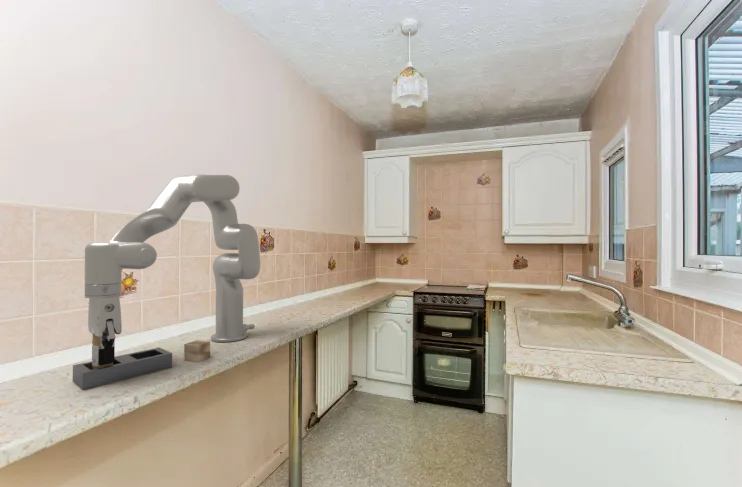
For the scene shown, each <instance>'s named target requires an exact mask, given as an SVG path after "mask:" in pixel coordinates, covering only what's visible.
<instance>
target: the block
mask: <svg viewBox="0 0 742 487" xmlns="http://www.w3.org/2000/svg"><path fill="white" fill-rule="evenodd" d="M183 345H184V346H183V348H184V349H183V350H184V352H183V353H184V354H183V355H184V356H183V357H184V358H183V360H184V362H192V363H199V362H202V361H206V360H207V359H209V358H211V341H210V340H200V339H197V340H194V341H190V342H188V343H185V344H183Z"/></svg>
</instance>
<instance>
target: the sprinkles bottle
mask: <svg viewBox="0 0 742 487" xmlns="http://www.w3.org/2000/svg"><path fill="white" fill-rule="evenodd" d="M113 328H114V327H113ZM92 333H93V334H92ZM92 333H91V334H92V338H93V344H92V346H91V361H92V366H93V369H98V368H102V367H107V366H111V365H113V363H109V364H105V365H99V364H98V358H99V349H100V338H99V337H98V336H95V334H94V330H93V327H92ZM103 336H107V333H105V334H103ZM105 339H107V338H104V341H105Z"/></svg>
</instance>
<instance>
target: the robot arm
mask: <svg viewBox="0 0 742 487" xmlns="http://www.w3.org/2000/svg"><path fill="white" fill-rule="evenodd" d="M239 193H240V183H239V181H238V180H237V179H236V178H235V177H234V176H232V175H231V174H230V175H229V174H190V175H189V174H188V175H178V176H175V177H174V178H172V179H171V180H170V181H169V182H168V183H167V184H166V186H165V187H164V188H163V190H162V191H161V192H160V193H159V194H158V196H157V197H156V198H155V199H154V201H153V202H152V203H151V205H150V206H149V207H147V209H145V210H144V211H142V212H141V213H139V214H138V215H137V216H135V217H134V218H133V219H131V220H130V221H128V222H127V223H126V224H124V225H123V226H122V227H121V228H120V229H119V230H118V231H117V232H116V233H115V235H114V236H113V237H111V239H110V240H109V242H91V243H88V244H86V246H85V247H84V299H88V311H87V313H88V316H87V317H88V318H87V319H88V320H87V323H88V324H87V325H88V331H89V333H90V334H92V335H93V333H92V327H93V330H94V334H95V336H98V337H99V338H100V349H99V358H98V364H99V365H105V364H109V363H113V362H114V361H115V356H116V354H115V351H116V350H115V346H116V344H115V342H116V335H121V334H122V332H123V330H122V327H123V326H122V312H121V310H122V309H121V302H120V301H121V300H120V296H122V271H123V269H125V270H144V269H147V268H150V267H151V266H153V264H154V263H155V262H156V260H157V258H158V257H157V255H158V254H157V250H156V249H155V247H154V246H152V245H151V244H150V243H146V242H145V241H147V240H148V239H150V238H152V237H153V236H155V235H158V234H161V233H163V232H165V231H167V230H169V229H171V228H173V227H175V226H176V225H177V224H178V222H179V221H180V219H181V218H182V217H183V215H184V214H185V212H186V211H187V209H188V208H189V207H190V205H191V204H192V203H200V202H201V203H202V202H203V203H204V204H205V205H206V206H207V207H208V209H209V211H210V213H211V219H212V229H213V238H214V243H215V245H216V247H217V248H219V249H220V250H223V251H224V250H226V251H227V250H231V251H238V253H237V252H226V253H221V254H218V256H217V257H216V258H214V260H213V263H212V264H213V265H212V269H213V270H212V271H213V277H214V279H215V280H214V282H215V333H214V334H212V335H211V336H210V340H211V341H213V342H215V343H229V342H237V341H241V340H245V339H247V337H248V332H247V331H248V330H254V329H255V327H256V326H255V324H254V323H250V324H247V323H246V324H245V323H244V287H243V284H242V282H241V280H253V279H255V278H257V277H258V275H259V274H260V270H261V255H260V244H259V243H260V242H259V236H258V233H257V230H256V228H255V227H253V226H252V225H251V224H249V223H239V220H238V214H237V209H236V207H235V205H234V203H233V201H232V200H234V199H236V198H237V197H238V195H239ZM113 327H114V328H113ZM105 333H107V336H103V334H105ZM104 338H107V339H105V341H104ZM91 344H92V345H93V337H92V340H91Z"/></svg>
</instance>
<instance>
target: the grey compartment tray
mask: <svg viewBox="0 0 742 487" xmlns="http://www.w3.org/2000/svg"><path fill="white" fill-rule="evenodd" d="M171 368H173V352H170V351H169V350H166V349H163V348H162V347H155V348H150V349H145V350H140V351H136V352H131V353H126V354H122V355H115V361H114V362H113V365H111V366H107V367H102V368H98V369H93V366H92V360H91V361H88V362H82V363H77V364H72V382H73V383H74V384H75V385H76V386H77V387H79V389H80V390H81V391H85V390H88V389H92V388H96V387H100V386H104V385H109V384H113V383H117V382H120V381H124V380H129V379H131V378H132V379H133V378H136V377H139V376H144V375H147V374H148V375H149V374H152V373H156V372H160V371H163V370H167V369H171Z"/></svg>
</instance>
